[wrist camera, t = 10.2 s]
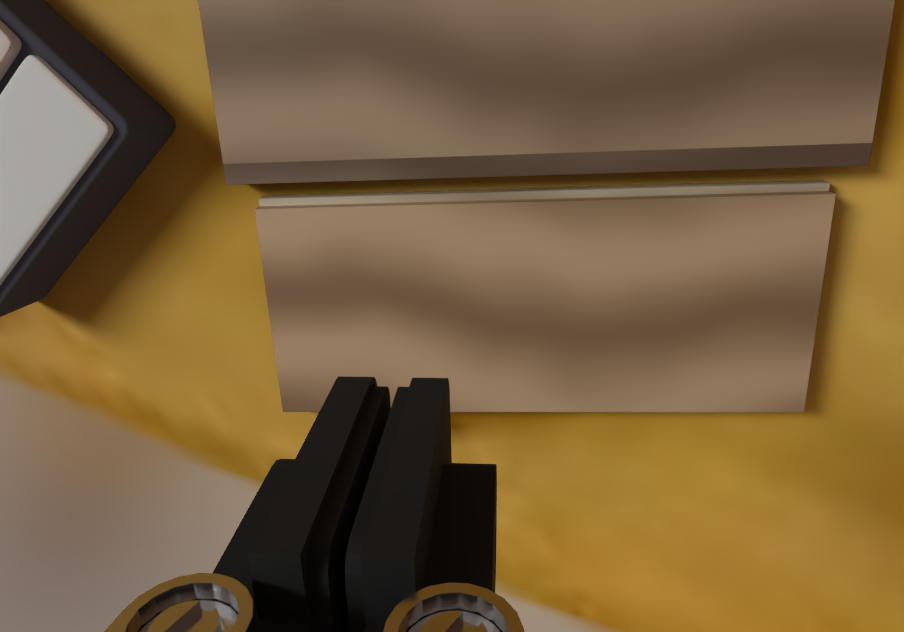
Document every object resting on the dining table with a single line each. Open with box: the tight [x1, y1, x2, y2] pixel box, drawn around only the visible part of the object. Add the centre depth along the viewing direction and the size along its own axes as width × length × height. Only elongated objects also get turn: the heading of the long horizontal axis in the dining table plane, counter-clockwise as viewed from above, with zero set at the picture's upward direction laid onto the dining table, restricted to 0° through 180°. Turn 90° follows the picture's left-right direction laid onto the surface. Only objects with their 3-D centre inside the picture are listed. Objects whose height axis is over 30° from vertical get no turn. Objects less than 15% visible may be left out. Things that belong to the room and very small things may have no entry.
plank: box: [255, 180, 836, 412], centre depth 29 cm, size 9×22×1 cm, turn 92°
